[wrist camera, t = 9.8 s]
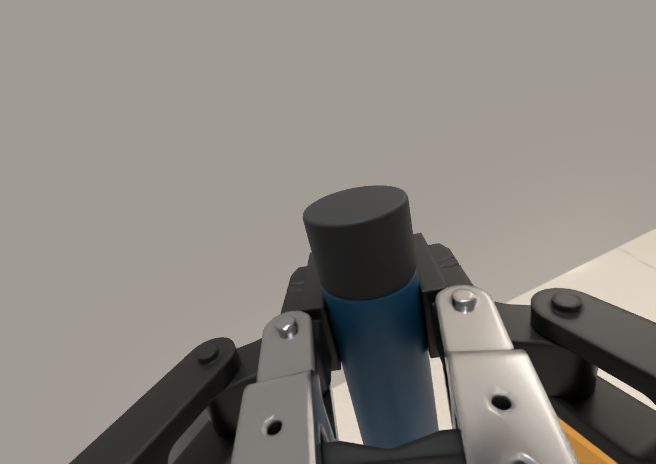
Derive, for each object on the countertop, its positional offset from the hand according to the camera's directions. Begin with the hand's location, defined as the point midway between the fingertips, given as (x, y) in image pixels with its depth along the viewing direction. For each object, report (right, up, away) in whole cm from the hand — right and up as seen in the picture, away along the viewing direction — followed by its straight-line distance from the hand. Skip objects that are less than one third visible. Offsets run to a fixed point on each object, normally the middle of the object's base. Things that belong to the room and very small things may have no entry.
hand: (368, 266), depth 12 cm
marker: (+3, -14, +3) cm, 14 cm away
